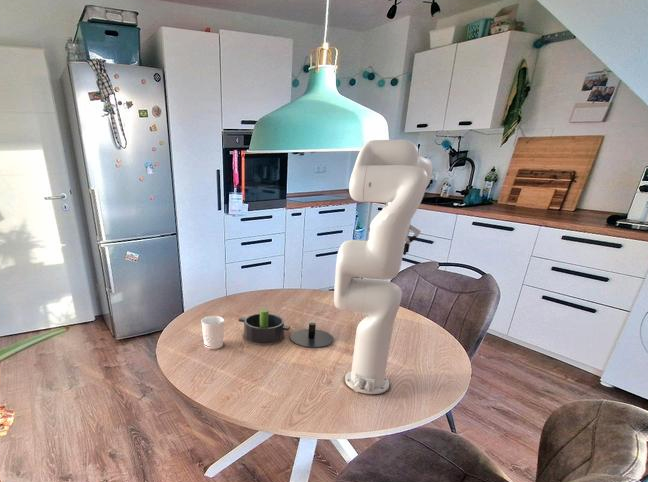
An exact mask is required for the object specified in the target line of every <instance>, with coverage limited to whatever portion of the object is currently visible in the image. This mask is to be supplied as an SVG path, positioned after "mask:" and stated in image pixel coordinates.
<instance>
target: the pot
mask: <svg viewBox="0 0 648 482" xmlns="http://www.w3.org/2000/svg"><path fill="white" fill-rule="evenodd" d="M238 322H240V323H243V337H244V338H245V339H246V340H247V341H249V342H251V343H253V344H254V343H255V344H258V345H269V344H275V343H277V342H280V341H281V340H282V339H284V331H287V332H288V331H289V330H290V329H291V326H290V325H286V324H285V320H284V319H283V317H281V316H279V315H277V314H275V313H269V314H268V328H260V313H254V314H250V315H248V316H246V317H244V316H241V317H239V318H238Z"/></svg>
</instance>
